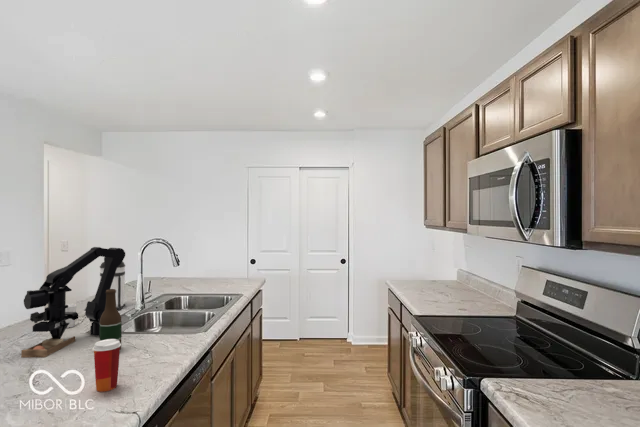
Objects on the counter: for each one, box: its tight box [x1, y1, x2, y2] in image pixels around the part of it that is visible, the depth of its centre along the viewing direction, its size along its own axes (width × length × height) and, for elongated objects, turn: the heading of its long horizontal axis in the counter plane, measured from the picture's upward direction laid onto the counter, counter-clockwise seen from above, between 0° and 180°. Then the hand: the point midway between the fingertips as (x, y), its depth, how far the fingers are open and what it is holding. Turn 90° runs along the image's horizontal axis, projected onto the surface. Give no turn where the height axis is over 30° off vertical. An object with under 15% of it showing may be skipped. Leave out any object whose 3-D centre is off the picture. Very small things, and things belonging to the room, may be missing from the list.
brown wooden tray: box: [20, 336, 76, 358], centre depth 146 cm, size 9×18×4 cm, turn 1°
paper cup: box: [91, 339, 122, 393], centre depth 115 cm, size 8×8×14 cm
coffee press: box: [99, 260, 126, 312], centre depth 213 cm, size 17×16×30 cm
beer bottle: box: [98, 289, 123, 350], centre depth 147 cm, size 8×8×24 cm
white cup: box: [65, 303, 77, 329], centre depth 178 cm, size 8×8×10 cm
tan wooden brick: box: [42, 338, 64, 349], centre depth 147 cm, size 6×2×3 cm, turn 94°
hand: (56, 342), depth 149 cm, fingers closed
